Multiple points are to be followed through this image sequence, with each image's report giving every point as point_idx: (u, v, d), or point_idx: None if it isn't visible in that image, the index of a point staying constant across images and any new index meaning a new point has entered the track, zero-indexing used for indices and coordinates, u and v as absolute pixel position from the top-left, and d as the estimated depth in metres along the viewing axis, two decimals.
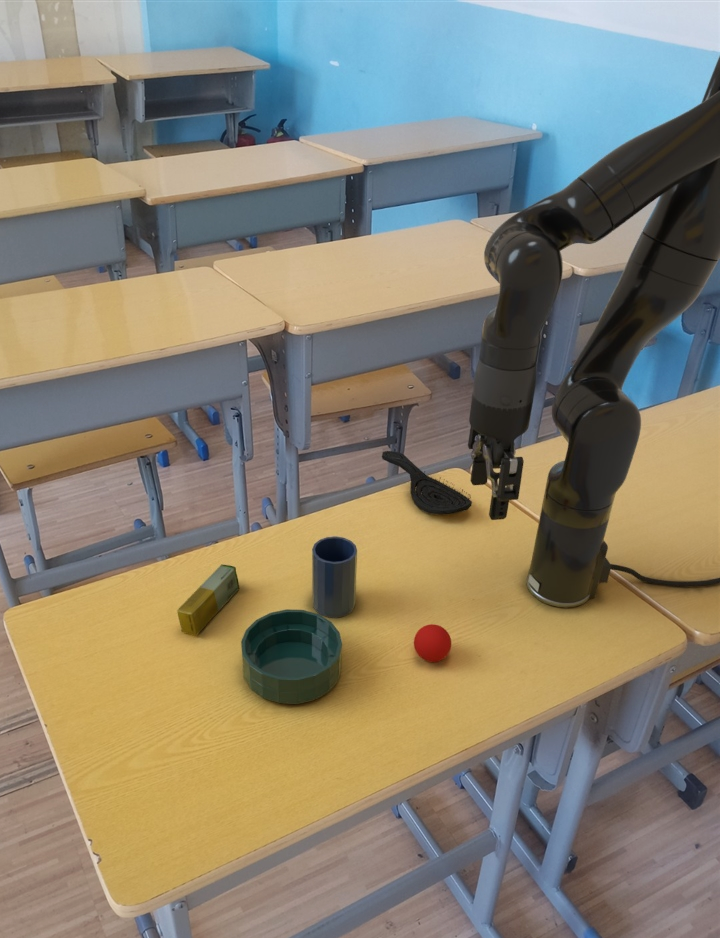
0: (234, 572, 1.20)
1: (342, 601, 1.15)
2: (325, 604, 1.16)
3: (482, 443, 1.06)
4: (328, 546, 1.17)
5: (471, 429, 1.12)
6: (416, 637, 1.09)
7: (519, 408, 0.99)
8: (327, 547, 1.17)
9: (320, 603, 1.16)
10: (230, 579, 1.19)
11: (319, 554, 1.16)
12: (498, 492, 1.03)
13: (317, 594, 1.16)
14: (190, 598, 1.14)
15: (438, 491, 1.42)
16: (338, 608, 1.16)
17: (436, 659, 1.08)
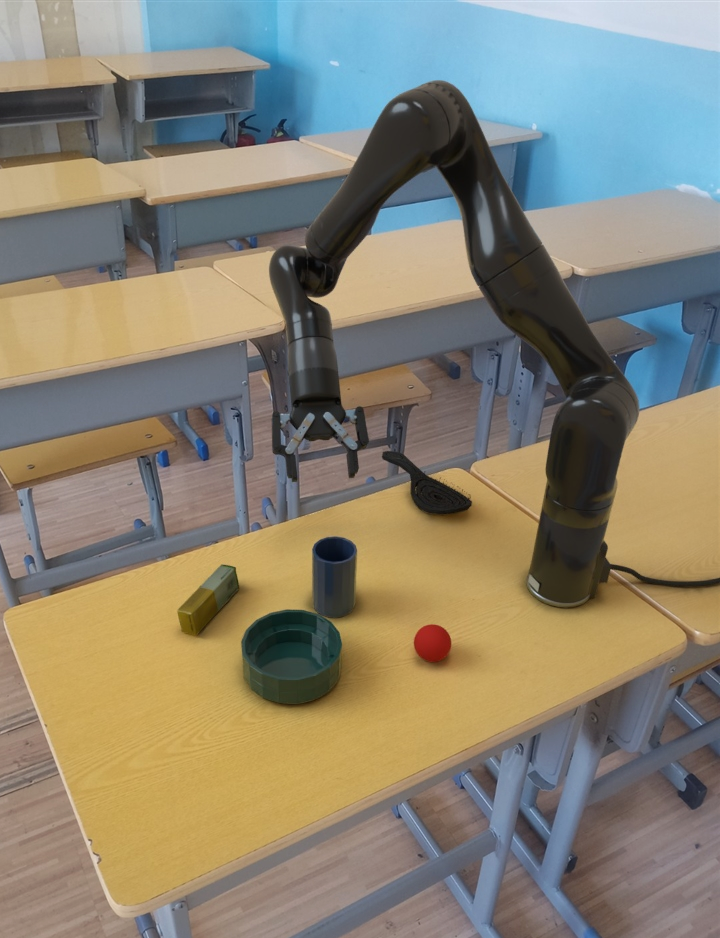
0: (233, 572, 1.20)
1: (342, 601, 1.15)
2: (325, 604, 1.16)
3: None
4: (328, 546, 1.17)
5: None
6: (416, 637, 1.09)
7: (290, 376, 1.21)
8: (327, 547, 1.17)
9: (320, 603, 1.16)
10: (230, 579, 1.19)
11: (319, 554, 1.16)
12: None
13: (317, 594, 1.16)
14: (190, 598, 1.14)
15: (438, 491, 1.42)
16: (338, 608, 1.16)
17: (436, 659, 1.08)
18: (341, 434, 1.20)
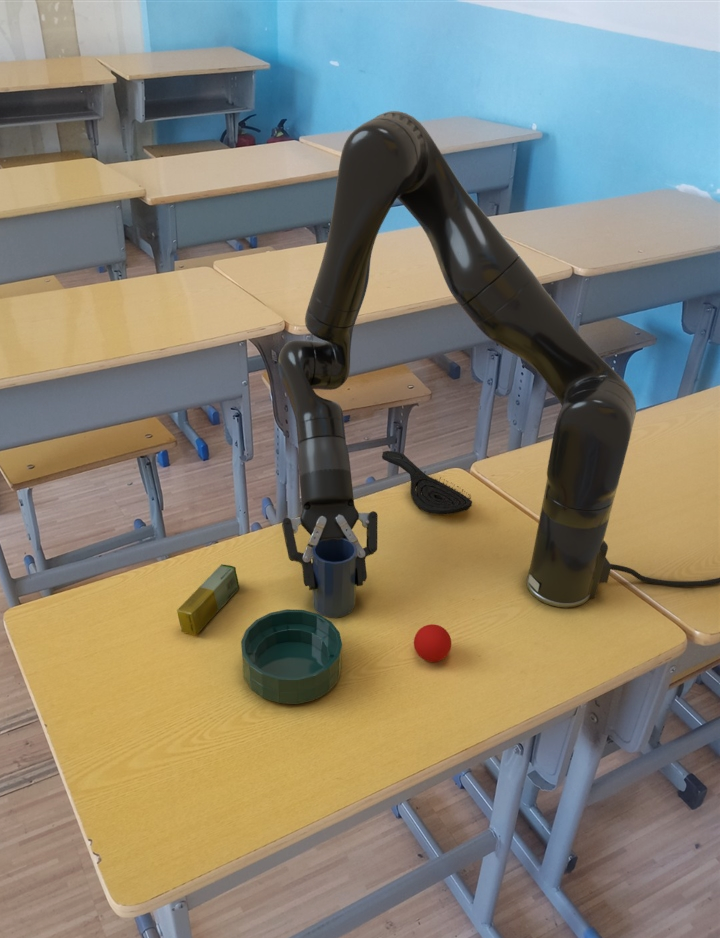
0: (233, 572, 1.20)
1: (342, 601, 1.15)
2: (325, 604, 1.16)
3: None
4: (328, 546, 1.17)
5: None
6: (416, 637, 1.09)
7: (301, 476, 1.17)
8: (327, 547, 1.17)
9: (320, 603, 1.16)
10: (230, 578, 1.19)
11: (319, 554, 1.16)
12: None
13: (317, 594, 1.16)
14: (190, 598, 1.14)
15: (438, 491, 1.42)
16: (338, 608, 1.16)
17: (436, 659, 1.08)
18: (350, 540, 1.15)
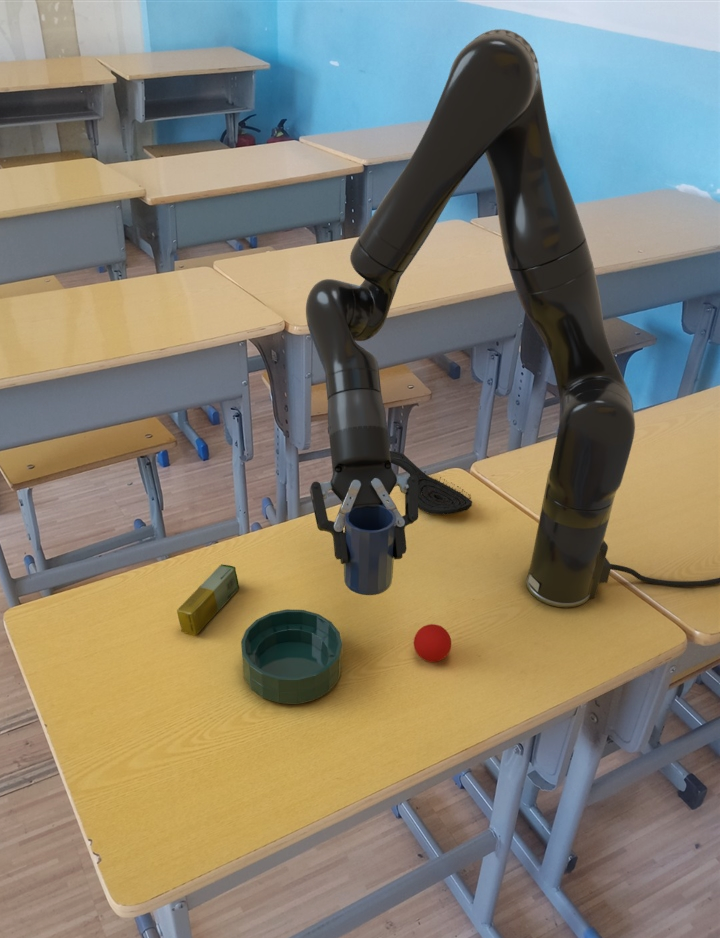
0: (233, 572, 1.20)
1: (379, 576, 1.02)
2: (359, 580, 1.02)
3: None
4: (362, 514, 1.03)
5: None
6: (416, 637, 1.09)
7: (331, 434, 1.03)
8: (361, 515, 1.03)
9: (353, 579, 1.03)
10: (230, 578, 1.19)
11: (352, 523, 1.03)
12: None
13: (350, 568, 1.02)
14: (190, 598, 1.14)
15: (438, 491, 1.42)
16: (374, 584, 1.02)
17: (436, 659, 1.08)
18: (388, 506, 1.01)
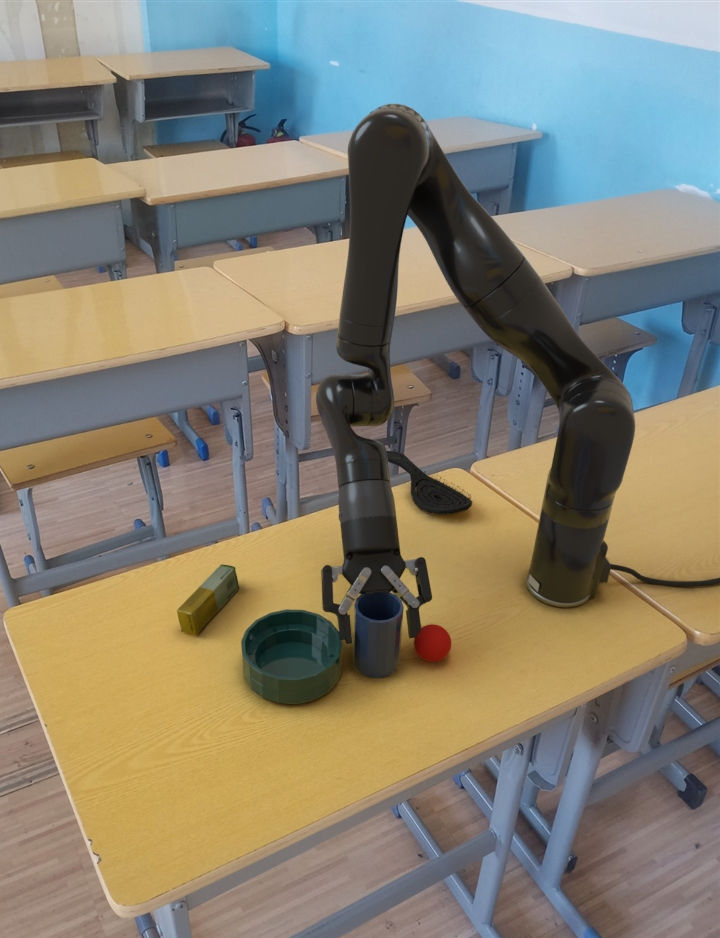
0: (233, 572, 1.20)
1: (386, 661, 1.06)
2: (367, 664, 1.06)
3: None
4: (371, 600, 1.07)
5: None
6: None
7: (342, 523, 1.07)
8: (369, 601, 1.07)
9: (362, 663, 1.07)
10: (230, 578, 1.19)
11: (361, 609, 1.07)
12: None
13: (359, 653, 1.06)
14: (190, 598, 1.14)
15: (438, 491, 1.42)
16: (382, 668, 1.07)
17: (436, 659, 1.08)
18: (401, 591, 1.06)
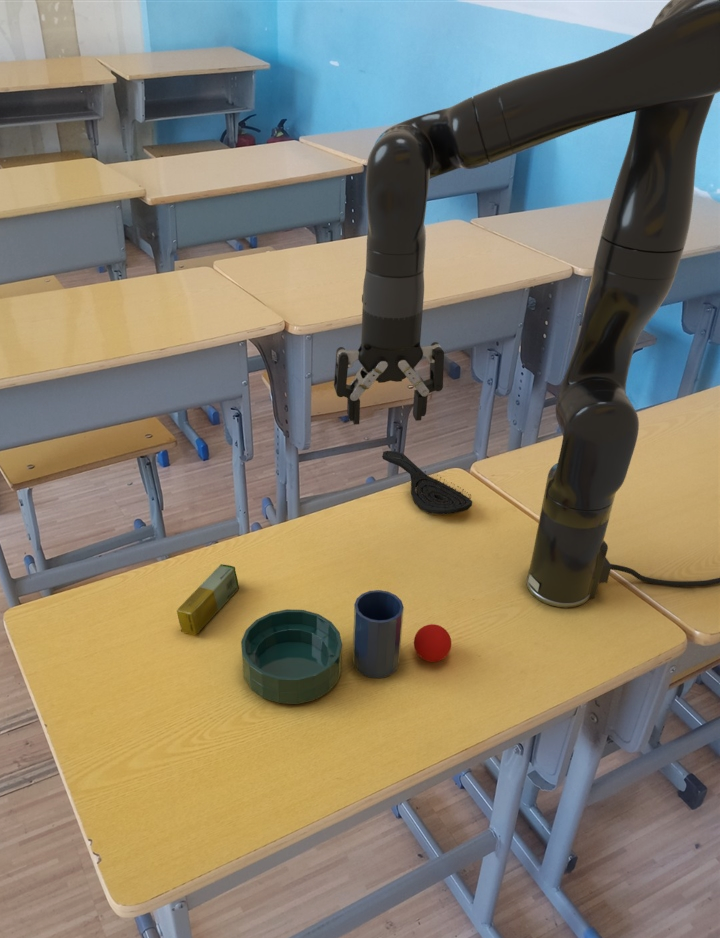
0: (233, 572, 1.20)
1: (386, 661, 1.06)
2: (367, 664, 1.06)
3: None
4: (371, 600, 1.07)
5: None
6: (416, 637, 1.09)
7: (365, 311, 1.00)
8: (369, 601, 1.07)
9: (362, 663, 1.07)
10: (230, 578, 1.19)
11: (361, 609, 1.07)
12: None
13: (359, 653, 1.06)
14: (190, 598, 1.14)
15: (438, 491, 1.42)
16: (382, 668, 1.07)
17: (436, 659, 1.08)
18: (414, 383, 1.06)
